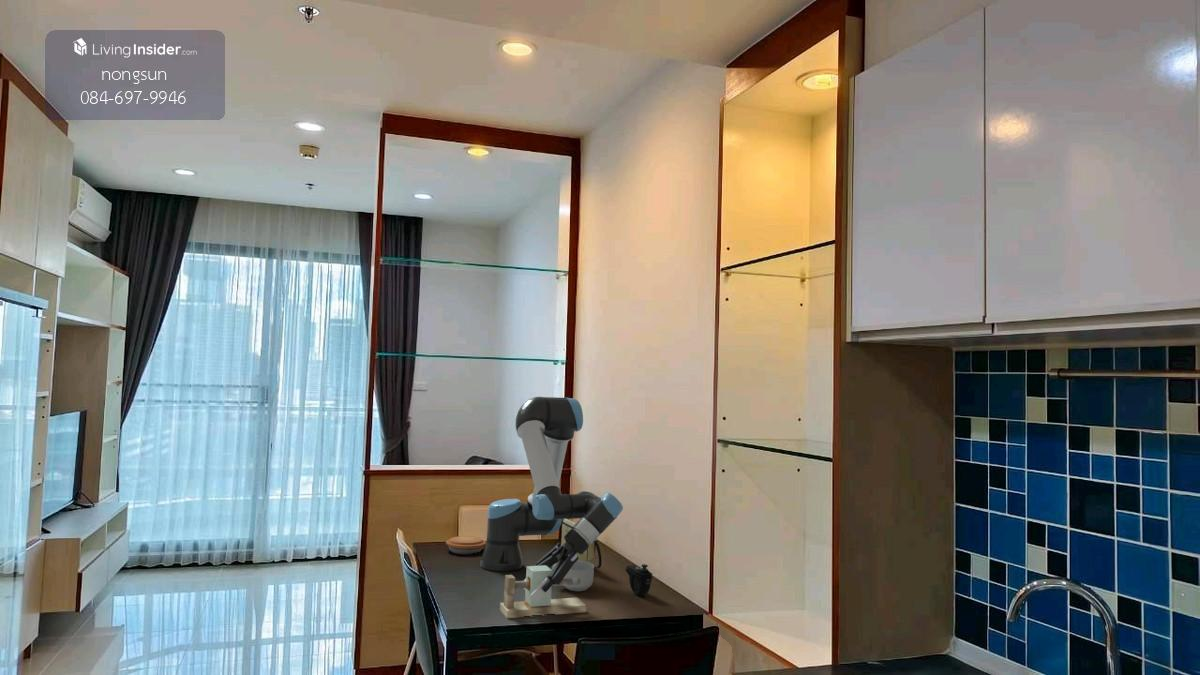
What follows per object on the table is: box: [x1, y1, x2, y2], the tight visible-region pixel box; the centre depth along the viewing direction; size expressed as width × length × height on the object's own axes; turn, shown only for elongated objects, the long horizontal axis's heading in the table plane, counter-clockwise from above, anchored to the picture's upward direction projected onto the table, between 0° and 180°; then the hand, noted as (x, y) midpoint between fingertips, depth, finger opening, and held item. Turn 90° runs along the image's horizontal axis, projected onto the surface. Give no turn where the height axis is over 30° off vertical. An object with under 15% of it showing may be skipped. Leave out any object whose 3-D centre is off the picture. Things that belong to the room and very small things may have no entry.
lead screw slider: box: [499, 574, 587, 619], centre depth 220 cm, size 24×8×10 cm, turn 112°
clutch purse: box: [560, 519, 603, 569], centre depth 278 cm, size 30×7×15 cm, turn 25°
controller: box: [625, 563, 653, 596], centre depth 242 cm, size 4×12×10 cm, turn 27°
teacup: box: [551, 560, 595, 592], centre depth 245 cm, size 14×11×8 cm
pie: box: [445, 535, 487, 555], centre depth 291 cm, size 15×16×5 cm
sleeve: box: [524, 565, 553, 607], centre depth 219 cm, size 6×6×10 cm
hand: (528, 593), depth 218 cm, fingers open, 10 cm apart
